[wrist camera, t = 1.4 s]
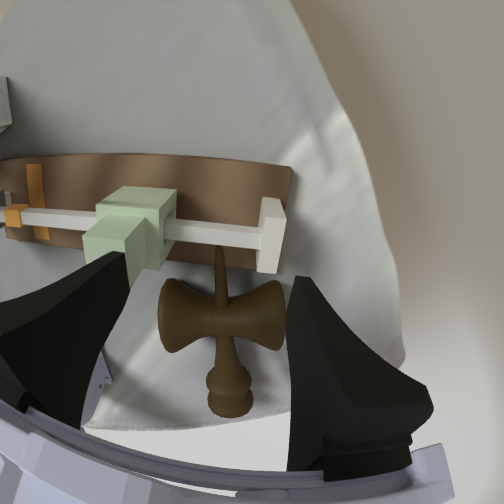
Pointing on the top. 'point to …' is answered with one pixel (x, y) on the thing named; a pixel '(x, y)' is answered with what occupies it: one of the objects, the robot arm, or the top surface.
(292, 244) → the top surface
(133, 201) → the sleeve
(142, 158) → the board
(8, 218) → the linear slide rail
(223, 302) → the kendama
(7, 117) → the syrup box
